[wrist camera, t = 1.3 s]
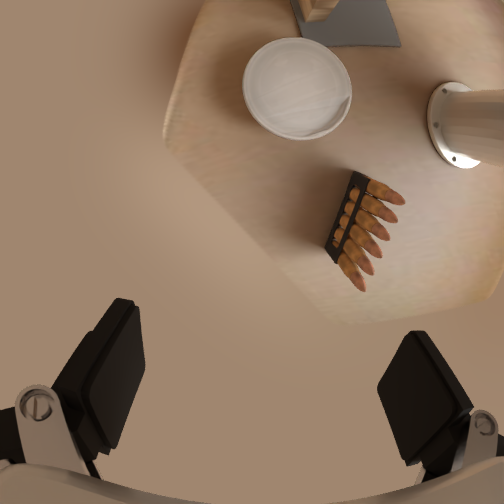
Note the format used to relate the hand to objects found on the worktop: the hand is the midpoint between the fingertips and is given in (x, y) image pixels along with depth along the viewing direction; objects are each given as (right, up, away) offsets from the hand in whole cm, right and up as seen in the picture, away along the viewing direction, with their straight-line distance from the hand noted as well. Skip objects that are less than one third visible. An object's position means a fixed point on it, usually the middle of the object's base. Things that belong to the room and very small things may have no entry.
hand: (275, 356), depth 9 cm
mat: (+10, +35, +14) cm, 39 cm away
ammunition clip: (+11, +8, +25) cm, 29 cm away
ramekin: (+4, +22, +20) cm, 30 cm away
